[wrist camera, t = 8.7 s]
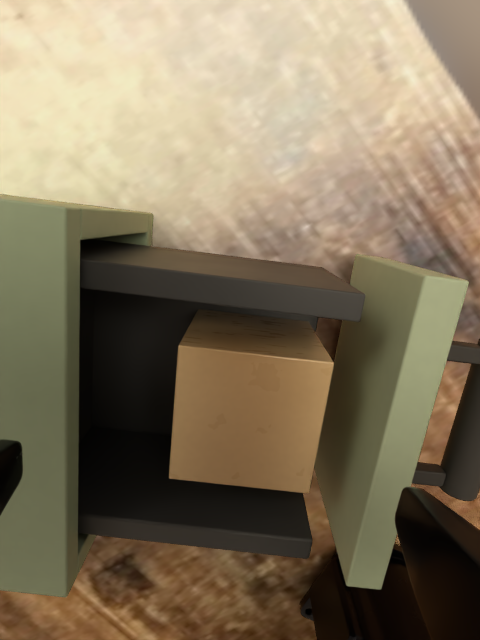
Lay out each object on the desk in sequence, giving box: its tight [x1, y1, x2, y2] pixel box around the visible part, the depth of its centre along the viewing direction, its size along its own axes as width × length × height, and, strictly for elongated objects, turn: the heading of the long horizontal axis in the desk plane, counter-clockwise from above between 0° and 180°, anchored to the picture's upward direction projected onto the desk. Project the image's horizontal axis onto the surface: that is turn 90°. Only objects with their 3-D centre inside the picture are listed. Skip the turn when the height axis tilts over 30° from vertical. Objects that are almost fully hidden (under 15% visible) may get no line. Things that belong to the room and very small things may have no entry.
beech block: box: [169, 309, 334, 493], centre depth 14 cm, size 5×5×5 cm
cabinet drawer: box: [78, 239, 480, 590], centre depth 14 cm, size 17×10×6 cm, turn 83°
